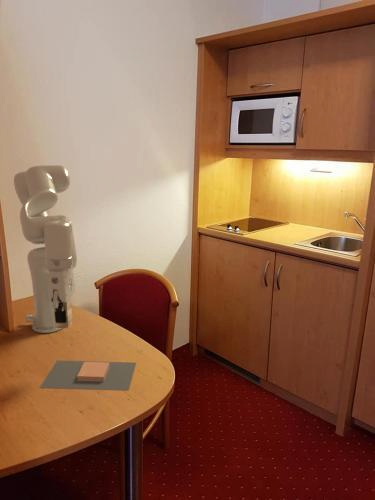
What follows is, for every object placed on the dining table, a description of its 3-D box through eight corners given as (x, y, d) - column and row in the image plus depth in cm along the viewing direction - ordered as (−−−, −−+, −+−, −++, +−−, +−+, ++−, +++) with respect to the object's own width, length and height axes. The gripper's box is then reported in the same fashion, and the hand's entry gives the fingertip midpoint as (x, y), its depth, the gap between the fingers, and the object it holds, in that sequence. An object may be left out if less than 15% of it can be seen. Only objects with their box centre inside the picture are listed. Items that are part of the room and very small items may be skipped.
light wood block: (55, 327, 122) (52, 294, 119) (59, 322, 126) (57, 289, 123) (68, 328, 122) (66, 294, 119) (72, 322, 125) (70, 289, 122)
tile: (77, 376, 119) (103, 376, 119) (84, 361, 127) (109, 362, 126) (77, 380, 119) (103, 381, 119) (84, 366, 127) (109, 366, 127)
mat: (39, 389, 116) (39, 387, 116) (57, 362, 130) (57, 360, 130) (128, 392, 115) (128, 390, 115) (136, 364, 130) (136, 362, 130)
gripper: (63, 271, 110) (67, 332, 115) (80, 254, 126) (83, 308, 131) (36, 271, 110) (41, 331, 115) (56, 254, 126) (60, 307, 131)
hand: (63, 318), depth 123 cm, fingers closed on light wood block, 4 cm apart
